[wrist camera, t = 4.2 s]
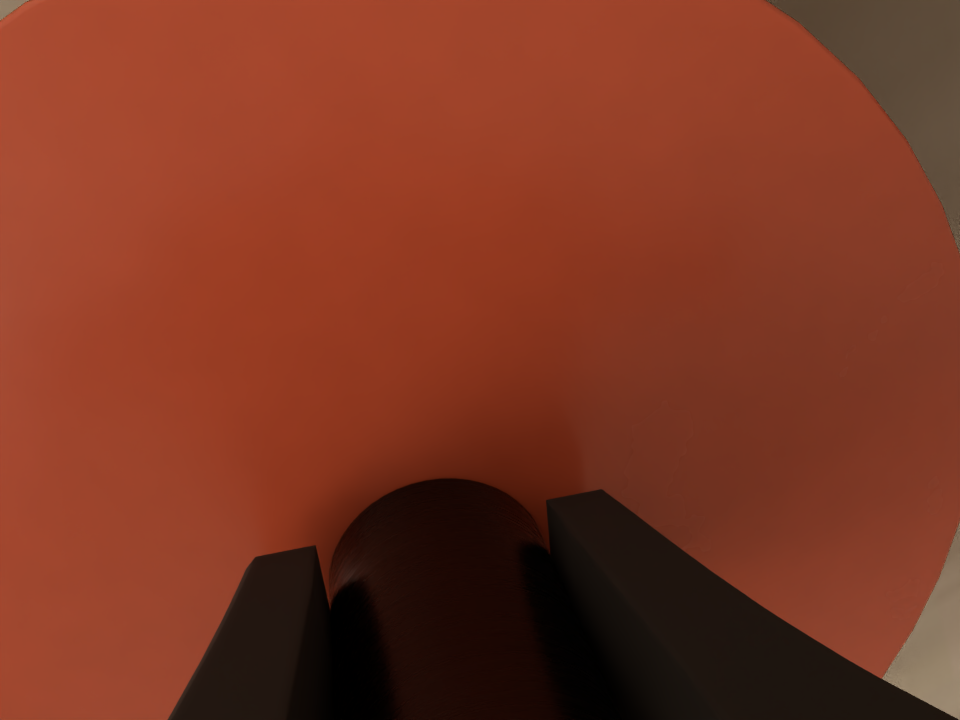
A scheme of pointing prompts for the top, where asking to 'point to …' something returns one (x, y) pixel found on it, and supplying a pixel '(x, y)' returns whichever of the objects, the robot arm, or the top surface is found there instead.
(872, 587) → the lid
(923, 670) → the top surface
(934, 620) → the top surface
